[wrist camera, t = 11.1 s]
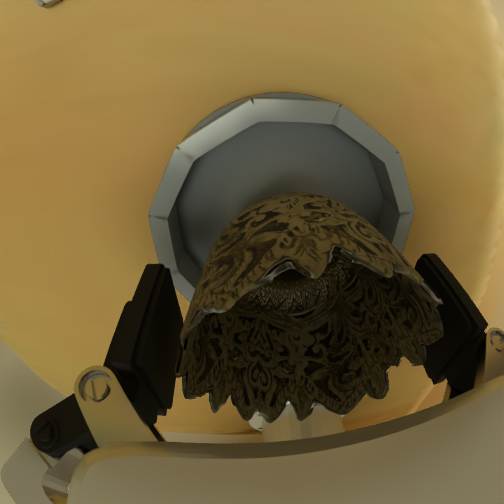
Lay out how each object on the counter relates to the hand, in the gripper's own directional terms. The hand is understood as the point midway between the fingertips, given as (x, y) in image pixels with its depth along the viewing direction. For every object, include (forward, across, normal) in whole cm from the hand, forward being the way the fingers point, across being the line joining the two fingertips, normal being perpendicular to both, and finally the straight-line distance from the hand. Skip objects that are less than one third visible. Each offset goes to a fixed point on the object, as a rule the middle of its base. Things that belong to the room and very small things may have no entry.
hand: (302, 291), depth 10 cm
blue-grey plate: (+5, 0, 0) cm, 5 cm away
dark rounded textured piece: (+4, 0, 0) cm, 5 cm away
